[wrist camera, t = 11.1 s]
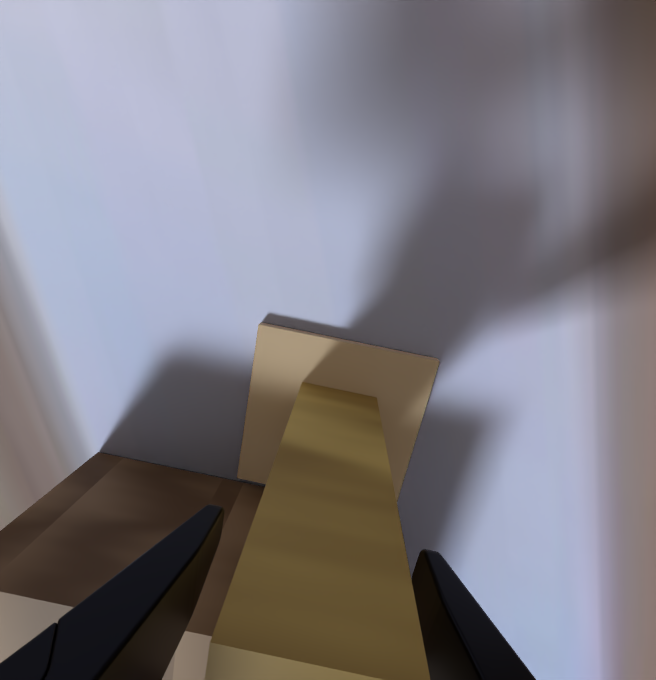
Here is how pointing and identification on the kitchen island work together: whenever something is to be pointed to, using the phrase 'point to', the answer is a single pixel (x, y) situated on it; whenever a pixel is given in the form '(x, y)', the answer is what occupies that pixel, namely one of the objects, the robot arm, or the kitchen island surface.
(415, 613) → the square wooden peg
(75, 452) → the kitchen island surface
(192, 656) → the block
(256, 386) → the pad
